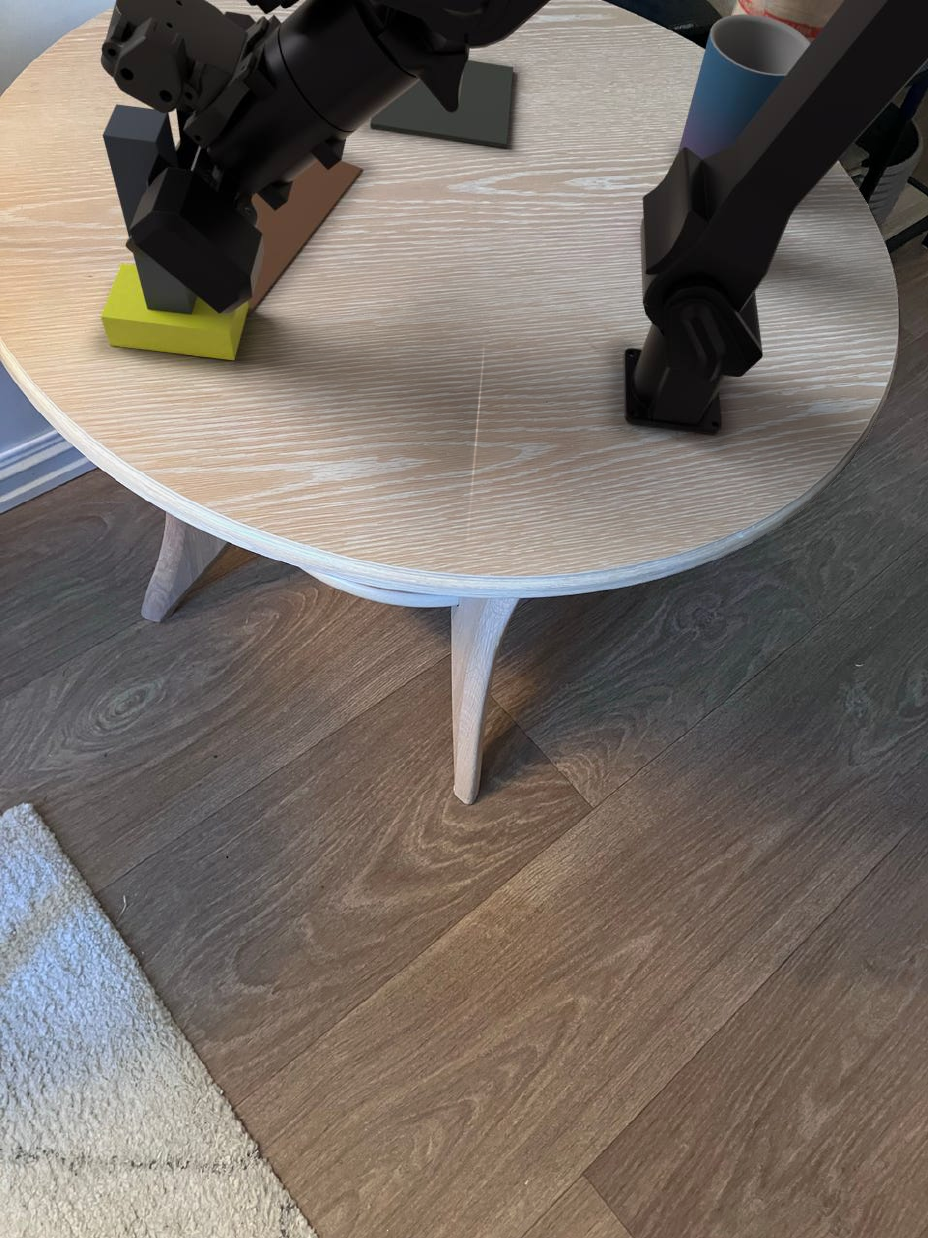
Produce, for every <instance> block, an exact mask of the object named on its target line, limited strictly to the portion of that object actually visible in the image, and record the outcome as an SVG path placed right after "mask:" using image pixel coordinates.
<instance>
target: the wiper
mask: <svg viewBox="0 0 928 1238" xmlns="http://www.w3.org/2000/svg"><path fill="white" fill-rule="evenodd" d="M102 138H103V143H104V147H105V151H106V154H107V158H108V162H109V166H110V170H111V174H112V177H113V181H114V185H115V190H116V194H117V197H118V201H119V204H120V208H121V213H122V216H123V219H124V224H125V227H126V233H127V236H128V238H129V237H130V235H131V233H130V231H129V229H130V227H131V224H132V222H133V219H134V216H135V214H136V211H137V209H138V206H139V204H140V201H141V198H142V196H143V195H144V193H145V192H146V191H147V187H146V184H147V179H148V177H149V174H150V172H151V169H152V167H153V164H154V161H155V159H156V156H157V154H158V153H160V154H161V155H162V156H163V157H164V158H165V159H167V160H168V161H169V162H170V163H171V164H172V165H173V166H174V167H175V168H178V169H179V165H178V160H177V155H176V149H175V147H176V145H175V139H174V134H173V128H172V124H171V118H170V112H168V113H161V112H159V111H157V110H155V109H153V108H148V107H140V106H132V105H125V104H119V103H117V104H115V107H114V108H113V110H112V113H111V114H110V117H109V120H108V122H107V124H106V126H105V127H104V130H103V133H102ZM132 256H133V259H134V263H135V264H131V263H123V262H121V263H120V266H119V268H118V271H117V274H116V275H115V278H114V281H113V284H112V286H111V289H110V292H109V295H108V296H107V299H106V302H105V304H104V307H103V310H102V313H101V315H100V319H101V322H102V326H103V328H104V331H105V335H106V338H107V341H108V344H109V346H110V347H111V346H112V347H120V348H127V349H137V350H145V351H153V352H162V353H169V354H177V355H185V356H196V357H203V358H213V359H220V360H229V361H235V359H236V357H237V351H238V347H239V345H240V341H241V337H242V334H243V329H244V327H245V324H246V323H245V322H246V319H247V316H248V315H247V312H248V308H249V305H248V301H247V302H245V303H244V304H242V305H241V306H240V307H238V308H237V309H235V310H234V311H233V312H231V313H228V314H219V313H218V312H216V311H215V310H214V309H213V308H211V307H210V306H209V305H208V304H207V303H205V302H204V301H203V300H202V299H200V298H199V297H198V296H197V295H196V294H194V293H193V292H192V291H191V290H189V289H188V288H187V287H186V286H185V285H183V284H182V283H181V282H180V281H178V280H177V279H176V278H175V277H174V276H172V275H171V274H170V273H169V272H167V271H166V270H165V269H164V268H163V267H161V266H160V265H159V264H158V263H156V262H155V261H154V260H153V259H152V258H139V257H137V256H136V255H135V254H134V253H132Z"/></svg>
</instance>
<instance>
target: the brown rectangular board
mask: <svg viewBox="0 0 928 1238" xmlns="http://www.w3.org/2000/svg"><path fill="white" fill-rule="evenodd" d="M362 171H363V168H362V167H361V166H357V165H354V164H351V163H348V162H346V161H344V160H341V161H340V162H338V163H337V164H336V165H334V166H333V167H332V168H330V169H329V170H327V169H326V168H325V167H324V166H323V165H322V164H321V163H320V162H319V161H316V162H315V163H314V164H313V165H311V166H310V167H309V168H308V169H306V170H305V171H304V172H302V173H301V174H300V175H299V176H297V177H296V178H295V179H294V180H293V183H292V187H291V190H290V194H289V198H288V202H286V203H285V204H284V205H282V206H281V207H280V208H279V209H277V210H276V211H275V210H273V209H272V208H271V207H270V206H269V205H268V204H267V203H266V202H265V201H264V200H263V199H262V198H261V197H260V196H259V195H258V194H257V193H256V194H255V195H254V196H253V198H252V204H253V205H254V207H255V209H256V210H257V213H258V216H259V220H258V224H257V227H256V228H257V229H258V230H259V231H260V232H261V233H262V234H263V245H264V257H263V261H262V265H261V268H260V272H259V276H258V279H257V283H256V287H255V290H254V294H253V297H252V298H251V299H250V300H248V305H249V308H248V312H247V315H246V316H248V317H249V316H251V314H252V313H253V311H254V310H255V309H256V308H257V306H259V304H260V302H261V301H262V300H263V299H264V297H265V296H266V295H267V293H268V292H269V291H270V290H271V289H272V287H273V286H274V284H275V283H276V282H277V281H278V279H279V278H280V276H282V274H283V273H284V271H286V269H287V267H288V266H289V265H290V264H291V263H292V261H293V260H294V259H295V257H296V256H297V255H298V254H299V252H300V251H301V249H303V247H304V246H305V244H306V243H308V241H309V239H310V238H311V237H312V235H313V234H314V233H315V232H316V231H317V229H318V228H319V226H320V225H321V224H322V222H323V221H324V220H325V219H326V218H327V216H328V215H329V214H330V213H331V211H332V210H333V208H334V207H335V206H336V205H337V204H338V202H339V201H340V199H341V198H342V197H343V196H344V194H345V193H346V192H347V191H348V189H349V188H350V187H351V185H352V184H353V182H355V180H356V179H357V177H359V175H360V174H361V173H362Z"/></svg>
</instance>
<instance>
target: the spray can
mask: <svg viewBox="0 0 928 1238" xmlns="http://www.w3.org/2000/svg"><path fill="white" fill-rule="evenodd" d="M843 1H844V0H736V1H735V3H734V7H733V9H732V12H731V15H739V14H750V15H758V16H763V17H768V18H771V19H774V20H777V21H780V22H782V23H784V24H787V25H789V26H790V27H792V28H794V29H795V30H797V31H798V32H800V33H801V34H802V35H803V36H804V37H805V38H806V39H807V40H808V41H809V42H810V44H811V43H812V41H813V40H814V39H815V37H816V36H817V35H818V34H819V32H820V31H821V30H822V28H823V27H824V26H825V25H826V23H827V22H828V21H829V19H830V18H831V17H832V16H833V14H834V13H835V12H836V10H837V9H838V8H839V7H840V5H841V4H842V3H843Z"/></svg>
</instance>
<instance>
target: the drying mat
mask: <svg viewBox="0 0 928 1238" xmlns="http://www.w3.org/2000/svg"><path fill="white" fill-rule="evenodd" d="M513 73H514V66H508V65H502V64H496V63H489V62H483V61H477V60H472V59H471V60H470V59H468V61H467V63H466V65H465V67H464V70H463V78H462V86H461V94H460V102H459V108H458V110H457V111H456V112H454V113H448V112H446V111H445V110H444V108H443V107H442V106H441V105H440V103H439V102H438V101H437V100H436V99H435V97H434V96H433V95H432V94H431V92H430V91H429V90H428V89H427V87H426V86H425V85H424V84H423V82H422V81H421V80H420V81H418V82H417V83H416V84H414V85H413V86H412V87H411V88H409V89H408V90H407V91H406V92H404V93H403V94H402V95H400V96H399V97H398V98H397V99H395V100H394V101H393V102H392V103H390V104H389V105H388V106H386V107H385V108H384V109H383V110H381V111H380V112H379V113H377V114H376V115H375V116H374V117H372V118H371V119H370V122H369V123H370V126H369V127H370V129H376V130H382V131H389V132H395V133H401V134H409V135H415V136H421V137H429V138H435V139H442V140H448V141H455V142H460V143H468V144H475V145H481V146H486V147H487V146H488V147H494V148H501V149H507V147H508V138H509V124H510V113H511V112H510V111H511V99H512V88H513V76H514V75H513Z"/></svg>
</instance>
